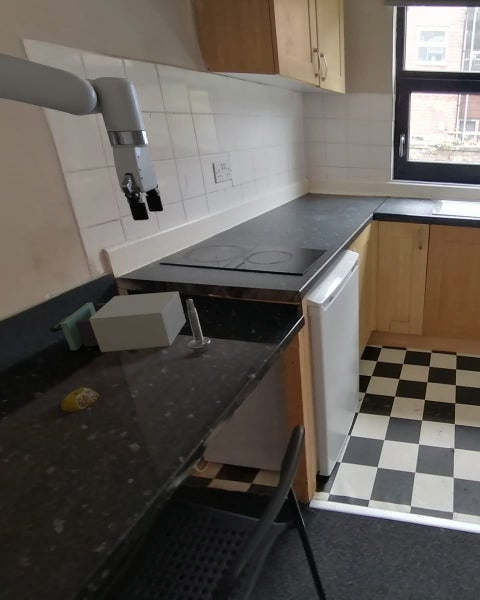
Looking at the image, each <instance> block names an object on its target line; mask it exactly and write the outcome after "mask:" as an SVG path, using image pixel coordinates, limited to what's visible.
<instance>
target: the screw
mask: <svg viewBox="0 0 480 600" xmlns="http://www.w3.org/2000/svg"><path fill="white" fill-rule="evenodd" d="M185 303H186V307H187V311H186V312H187V318H188V320H189V325H190V327H191V328H190V329H191V332H192V336H193V339H191V340H190V341H189V342H188V343H187V347H188V348H189V349H190V350H193V351H194V353H196V354H202V353H206V351H207V350H208V349H209V346H210V345H211V343H212V339H211V338H210V337H208V336H203V332H202V327H201V324H200V320H199V315H198V312H197V309H196V307H195V304H194V300H193V299H192V298H187V299H186V300H185Z"/></svg>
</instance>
